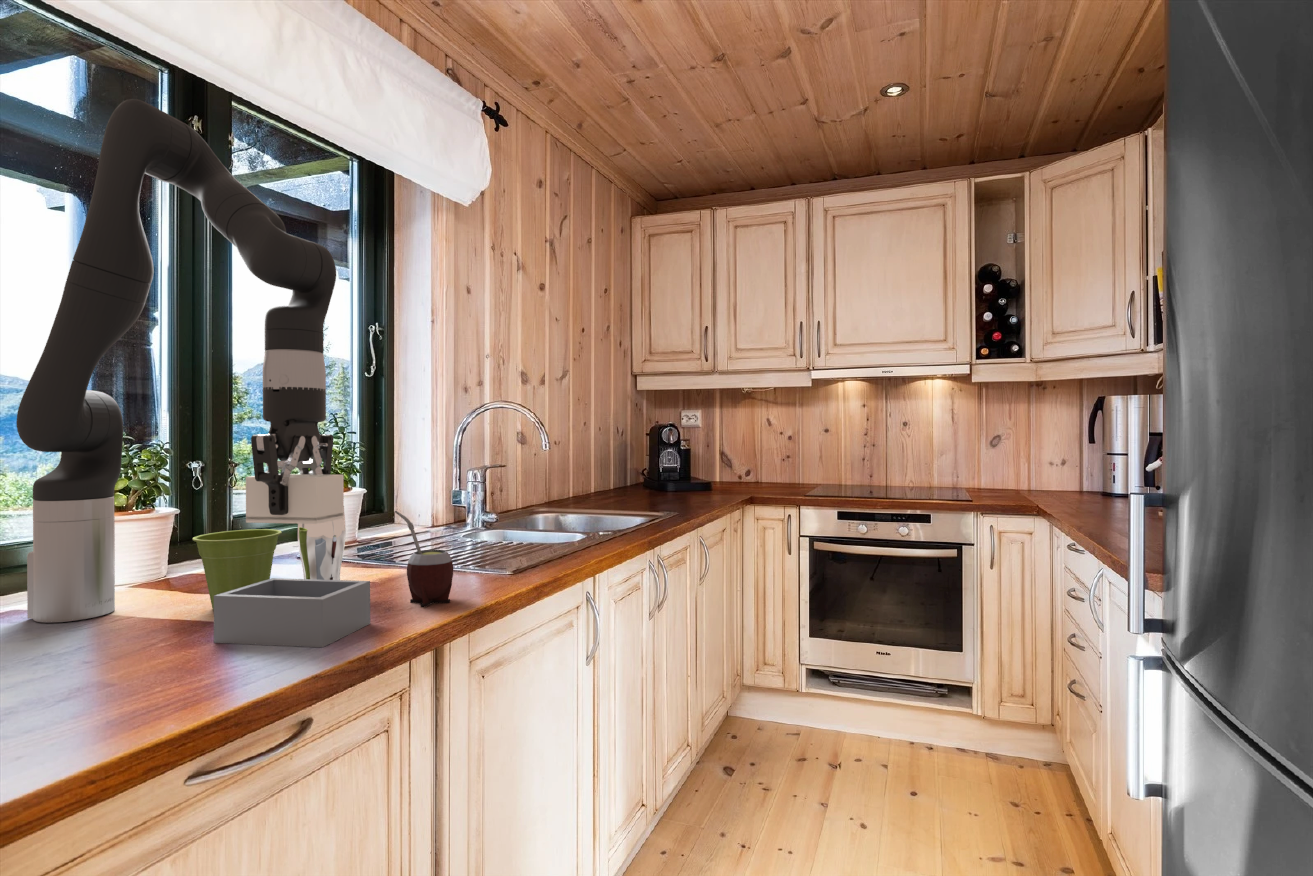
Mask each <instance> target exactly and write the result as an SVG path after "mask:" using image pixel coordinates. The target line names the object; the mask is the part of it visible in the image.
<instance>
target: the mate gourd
mask: <svg viewBox="0 0 1313 876" xmlns="http://www.w3.org/2000/svg"><path fill="white" fill-rule="evenodd" d="M394 513H395V514H397V515H398V516H399V517H400V518H401V519H402V520H404V522H406V523H407V527H408V529H409V531H410V534H411V537H412V539H413V543H414V545H415V549H416V551H414V552H413V553H412V554H411V556H409V558H408V560H407V565H406V576H407V577H406V578H407V583H408V588H409V593H410V595H411V598H410V600H409V601H410V604H420V608H427V607H428V606H430V605H432V604H450V603H451V599H450V598H449V597H450V593H451V589H452V586H453V577H454V563H453V558H452V557H451V556H450V554H449V552H448V550H445V549H423V550H421V547H420V544H419V541H418V538H417V535H416V531H415V526H414V524H413V522H411V520H410V519H409V518H408V517H407V516H405V515H403V514H402V513H400V512H399V511H397V510H395V511H394Z"/></svg>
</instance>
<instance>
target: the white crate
mask: <svg viewBox="0 0 1313 876" xmlns="http://www.w3.org/2000/svg"><path fill="white" fill-rule="evenodd" d="M280 474H281V473H279V475H280ZM285 486H288V513H287V514H285V515H272V514H270V510H269V488H268V485H266V484H265V483H264V482H262V481H256V480H255V475H251V476H245V523H247V524H249V523H251V524H253V523H254V524H255V523H256V524H297V525H298V524H318V523H323V522H328V521H333V520H338V519H343V518H344V514H345V506H344V501H345V499H344V498H345V497H344V474H330V475H322V474H317V475H314V474H300V473H298V474H297V473H291V474H290V477H289V480H288V483H287V485H285Z"/></svg>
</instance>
